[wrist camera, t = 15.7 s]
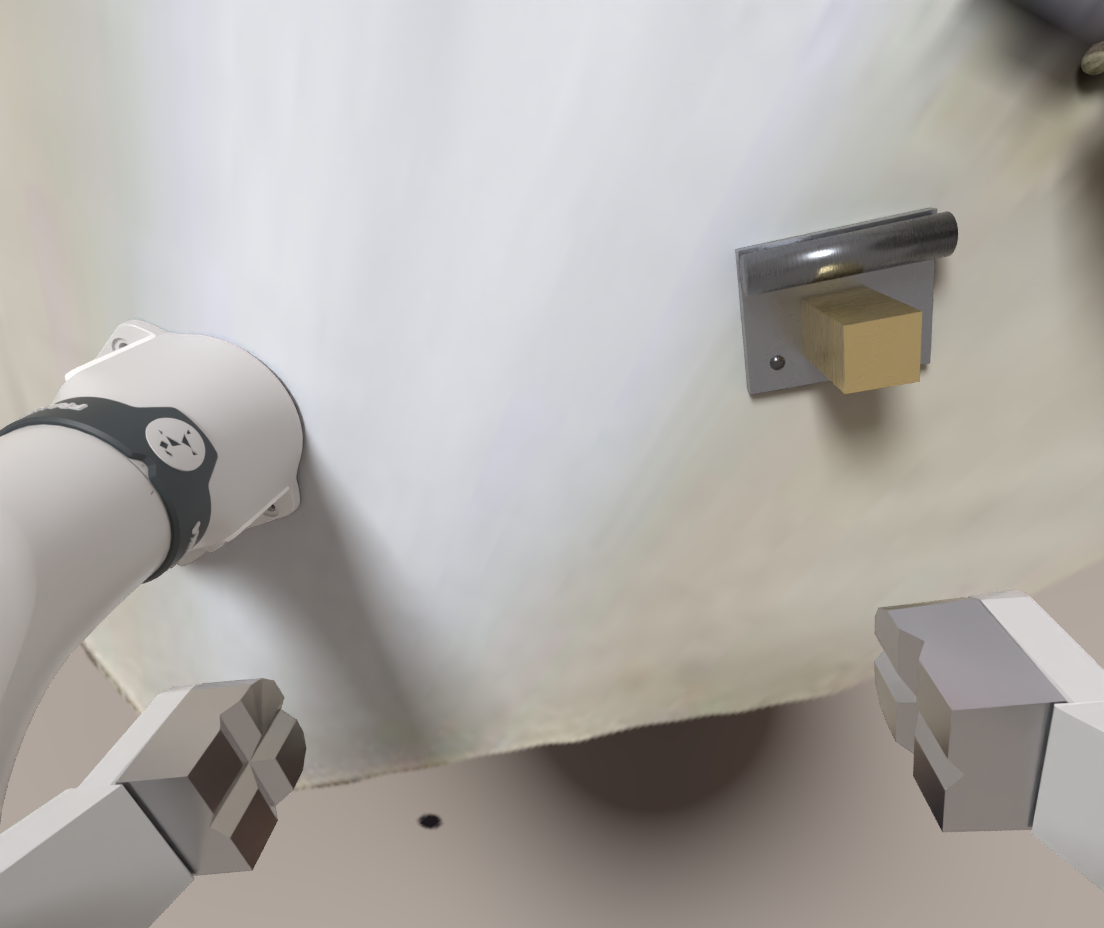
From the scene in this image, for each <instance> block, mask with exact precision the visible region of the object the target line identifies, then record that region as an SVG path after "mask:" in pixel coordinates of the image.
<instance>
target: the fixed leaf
mask: <svg viewBox="0 0 1104 928" xmlns="http://www.w3.org/2000/svg"><path fill="white" fill-rule="evenodd" d="M957 240H958V227H957V223H956V220H955V217H954V216H953V215H952V214H951V213H950V212H942V213H938V214H937V209H936V208H926V209H921V210H917V211H912V212H907V213H903V214H898V215H893V216H889V217H884V218H879V219H875V220H870V221H865V222H861V223H856V224H851V225H847V226H842V227H837V228H833V229H828V230H823V231H819V232H814V233H809V234H805V235H800V236H795V237H790V238H786V239H781V240H776V241H772V242H767V243H762V244H758V245H753V246H748V247H744V248H739V249H735V252H736V264H737V275H738V287H739V298H740V310H741V321H742V333H743V344H744V356H745V367H746V378H747V390H748V392H749V393H750V394H756V393H762V392H768V391H773V390H779V389H785V388H791V387H796V386H802V385H808V384H813V383H819V382H825V381H830V380H829V379H828V378H827V377H826V376H825V375H824V374H823V373H822V372H820V371H819V370H818V369H817V368H816V367H815V366H814V365H813V364H812V363H811V362H810V361H809V360H808V359H807V358H805V357H804V351H803V328H802V306H801V298H806V297H811V296H816V295H821V294H826V293H831V292H836V291H841V290H846V289H851V288H856V287H861V286H866V287H868V288H871V289H873V290H875V291H878V292H880V293H882V294H884V295H887V296H889V297H891V298H893V299H896V300H898V301H900V302H902V303H905V304H907V305H909V306H911V307H914V308H916V309H918V310H920V311H922V332H921V358H920V365H922V364H928V363H930V354H931V332H932V311H933V289H934V267H935V259H937V258H942V257H947V256H950V255H951V254H952V253H953V252H954V250H955V248H956V245H957Z"/></svg>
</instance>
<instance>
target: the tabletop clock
mask: <svg viewBox="0 0 1104 928" xmlns="http://www.w3.org/2000/svg"><path fill="white" fill-rule="evenodd" d="M1081 68H1082V70H1083V71H1084V72H1085V73H1087V74H1089V75H1097V74H1100V73H1103V72H1104V41H1102V42H1099V43H1096V44H1094V45H1093V46H1091V47H1090V48H1089V49H1088V51H1087V52H1086V53H1085V55H1084V56H1083V57H1082V60H1081Z"/></svg>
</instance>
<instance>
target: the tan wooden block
mask: <svg viewBox="0 0 1104 928" xmlns="http://www.w3.org/2000/svg"><path fill="white" fill-rule="evenodd" d="M801 306H802V328H803V351H804V357H805V358H807V359H808V360H809V361H810V362H811V363H812V364H813V365H814V366H815V367H816V368H817V369H818V370H819V371H820V372H822V373H823V374H824V375H825V376H826V377H827V378H828V379H829V380H830V381H831V382H832V383H833V384H834V385H836V386H837V387H838V388H839V389H840V390H841V391H842V392H843V393H844V394H849V393H855V392H861V391H867V390H873V389H879V388H884V387H890V386H896V385H902V384H908V383H914V382H920V358H921V332H922V311H920V310H918V309H916V308H914V307H911V306H909V305H907V304H905V303H902V302H900V301H898V300H896V299H893V298H891V297H889V296H887V295H884V294H882V293H880V292H878V291H875V290H873V289H871V288H868V287H866V286H861V287H856V288H851V289H846V290H841V291H836V292H831V293H826V294H821V295H816V296H811V297H806V298H801Z"/></svg>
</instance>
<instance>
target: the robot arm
mask: <svg viewBox="0 0 1104 928" xmlns="http://www.w3.org/2000/svg"><path fill="white" fill-rule="evenodd" d="M126 344H127V346H126ZM65 379H66V382H65V383H64V384H63V386H62V387H61V388H60V390H59V391H58V393H57V395H56V397H55V399H54V401H53V403H52V405H48V406H46V407H45V406H44V407H41V408H38V409H36V410H34V411H32V412H30V413H27V414H25V415H24V416H22V417H20V418H19V420H17V421H15V422H13V423H11V424H9V425H8V426H6V427H4V428H3V429H2V430H1V431H0V822H1V815H2V808H3V804H4V799H5V795H6V791H7V787H8V782H9V779H10V776H11V773H12V770H13V766H14V763H15V760H16V757H17V754H18V751H19V749H20V746H21V743H22V741H23V739H24V736H25V733H26V731H27V729H28V726H29V724H30V722H31V719H32V717H33V715H34V713H35V711H36V709H37V707H38V705H39V703H40V702H41V700H42V698H43V696H44V694H45V692H46V690H47V688H48V687H49V685H50V683H51V682H52V680H53V679H54V677H55V676H56V674H57V673H58V671H59V670H60V668H61V667H62V665H63V664H64V663H65V662H66V660H67V659H68V658H69V656H70V655H71V654H72V653H73V651H74V650H75V649H76V648H77V647H78V646H79V645H80V644H81V643H82V642H83V641H84V640H85V639H86V638H87V637H88V635H89V634H90V633H91V632H92V631H93V630H94V629H95V628H96V627H97V626H98V625H99V624H100V623H101V622H102V621H103V620H104V619H105V618H106V617H107V616H108V615H109V614H110V613H111V612H112V611H113V610H114V609H115V608H116V607H117V606H118V605H119V604H120V603H121V602H122V601H123V600H124V599H125V598H127V597H128V596H129V595H130V594H131V593H132V592H133V591H134V590H135V589H136V588H137V587H138V586H140V585H141V584H143V583H146V582H149V581H151V580H153V579H155V578H157V577H159V576H160V575H162V574H163V573H164V572H165V571H167V570H168V569H169V568H172V567H174V566H175V565H176V564H178V565H180V566H185V565H187V564H189V563H191V562H193V561H195V560H196V559H198V558H199V557H200V556H202V555H203V554H204V553H205V552H206V550H207V551H208V552H209V553H210V552H213V551H215V550H217V549H219V548H220V547H222V546H223V545H224V544H225V542H229V541H231V540H232V539H234V538H235V537H236V536H238V535H239V534H240V533H241V532H242V531H243V530H245V529H248V528H251V527H254V526H257V525H260V524H264V523H267V522H270V521H273V520H276V519H279V518H282V517H285V516H288V515H290V514H291V513H292V512H294V511H295V510H296V509H297V508H298V507H299V505H300V493H299V488H298V483H297V478H296V477H297V470H298V466H299V462H300V459H301V454H302V447H303V435H302V427H301V423H300V419H299V416H298V413H297V410H296V408H295V405H294V403H293V401H292V399H291V397H290V396H289V394H288V392H287V391H286V389H285V388H284V386H283V385H282V384H281V382H280V381H279V380H278V378H277V377H276V376H275V375H274V374H273V373H272V372H271V371H270V370H269V369H268V368H267V367H266V366H265V365H264V364H263V363H262V362H260V361H259V360H258V359H257V358H255V357H254V356H252V355H251V354H249V353H248V352H246V351H245V350H243V349H241V348H239V347H238V346H235V345H233V344H231V343H229V342H226V341H224V340H221V339H218V338H214V337H210V336H205V335H198V334H178V333H171V332H167V331H165V330H163V329H161V328H158V327H156V326H154V325H152V324H149V323H146V322H143V321H140V320H129V321H127V322H125V323H123V324H121V325H119V326H118V327H117V328H116V330H115V331H114V332H113V334H112V335H111V337H110V338H109V340H108V341H107V343H106V344H105V346H104V347H103V348H102V350H101V351H100V353H99V354H98V356H97V357H96V359H95V360H93V361H91V362H89V363H86V364H84V365H82V366H80V367H77V368H75V369H73V370H72V371H70V372H69V373H67V374H66V375H65ZM272 504H273V505H274V506H275V507H273V506H271V505H272ZM874 634H875V635H876V637H877V639H878V641H879V642H880V644H881V646H882V648H883V649H884V651H883V652H882V653H881V654H880V656H879V657H878V658H877V659H876V660H875V661H874V667H875V685H876V689H877V694H878V699H879V703H880V707H881V709H882V712H883V715H884V717H885V720H886V722H887V725H888V727H889V729H890V731H891V733H892V735H893V737H894V739H895V741H896V742H897V743H899V744H900V745H901V746H903V747H904V748H906V749H907V750H909V751H910V752H912V753H913V754H914V767H913V769H914V770H913V776H914V778H915V780H916V782H917V784H918V786H919V788H920V790H921V792H922V794H923V796H924V798H925V799H926V801H927V803H928V805H929V807H930V809H931V811H932V813H933V815H934V817H935V819H936V820H937V823H938V825H939V826H940V828H941V830H942V832H967V831H999V830H1000V831H1001V830H1032V832H1031V834H1032V835H1033V836H1034V837H1035V838H1037V839H1038V840H1039V841H1040V842H1042V843H1043V844H1044V845H1046V846H1047V847H1048V848H1049V849H1051V850H1052V851H1053V852H1054V853H1056V854H1057V855H1058V856H1059V857H1061V858H1062V859H1063V860H1064V861H1066V862H1067V863H1068V864H1069V865H1071V866H1072V867H1073V868H1074V869H1076V870H1077V871H1078V872H1079V873H1081V874H1082V875H1083V876H1084V877H1086V878H1087V879H1088V880H1089V881H1091V882H1092V883H1093V884H1095V885H1096V886H1097V887H1098V888H1099V889H1101V890H1102V891H1103V892H1104V669H1103V668H1102V667H1101V666H1100V665H1099V664H1098V663H1097V662H1096V661H1095V660H1094V659H1093V658H1092V657H1091V656H1090V655H1089V654H1088V653H1087V652H1086V651H1085V650H1084V649H1083V648H1082V647H1081V646H1079V644H1078V643H1077V642H1076V641H1075V640H1073V638H1071V637H1070V636H1069V635H1068V634H1067V633H1066V632H1065V631H1064V630H1063V629H1062V628H1061V627H1060V626H1059V625H1058V624H1057V623H1056V622H1055V621H1054V620H1053V619H1052V618H1051V617H1050V616H1049V615H1048V614H1047V613H1046V612H1045V611H1044V610H1043V609H1042V608H1041V607H1040V606H1039V605H1038V604H1037V603H1036V602H1035V601H1034V600H1033V599H1032V598H1031V597H1030V596H1029V595H1028V594H1025V593H1023V592H1021V591H1019V590H1011V591H1003V592H995V593H988V594H980V595H973V596H969V597H968V598H965V597H962V598H954V599H946V600H938V601H929V602H921V603H913V604H905V605H897V606H888V607H880V608H878V610H877V612H876V615H875V632H874ZM283 700H284V696H283V694H282V693H281V691H280V689H279V688H278V686H277V685H276V683H275V681H274V680H269V679H263V678H259V679H248V680H236V681H225V682H213V683H203V684H201V685H188V686H175V687H172V688H169V689H167V690H165V691H163V692H161V693H159V694H158V695H157V697H156V698H155V699H154V700H153V701H152V702H151V704H150V705H149V706H148V707H147V708H146V709H145V710H144V712H143V713H142V714H141V715H140V716H139V717H138V719H137V720H136V721H135V722H134V723H133V724H132V725H131V727H130V728H129V729H128V730H127V731H126V732H125V734H124V735H123V736H122V737H121V738H120V740H119V741H118V742H117V743H116V744H115V745H114V746H113V748H112V749H111V750H110V751H109V752H108V753H107V754H106V755H105V757H104V758H103V759H102V760H101V761H100V762H99V764H98V765H97V766H96V767H95V768H94V769H93V771H92V772H91V773H90V774H89V775H88V776H87V777H86V779H85V780H84V781H83V782H82V783H81V784H80V785H79V787H78V788H72V789H67V790H65V791H64V792H62V793H61V794H59V795H58V796H56V797H55V798H53V799H52V800H51V801H49V802H47V803H46V804H45V805H43V806H42V807H40V808H39V809H37V810H36V811H34V812H33V813H31V814H30V815H28V816H27V817H26V818H24V819H23V820H21V821H19V822H18V823H16V824H15V825H13V826H12V827H11V828H9V829H8V830H6V831H5V832H3V833H2V834H0V928H149V927H150V925H151V924H152V923H153V922H154V921H155V920H156V919H157V918H158V917H159V916H160V915H161V914H162V913H163V912H164V911H165V910H166V909H167V908H168V907H169V906H170V904H172V903H173V901H174V900H175V899H176V898H177V897H178V896H179V895H180V894H181V893H182V892H183V891H184V890H185V889H186V888H187V887H188V886H189V885H190V884H191V883H192V882H193V881H194V877H193V876H197V875H207V874H218V873H229V872H240V871H251V870H253V868H254V866H255V864H256V862H257V860H258V859H259V857H260V855H261V852H262V851H263V849H264V847H265V845H266V843H267V841H268V839H269V837H270V835H271V833H272V831H273V829H274V827H275V825H276V823H277V821H278V818H277V811H276V805H277V804H278V803H279V802H280V801H281V800H282V799H284V798H285V797H286V796H287V795H288V794H289V793H290V792H291V791H292V790H294V787H295V785H296V783H297V781H298V779H299V777H300V775H301V773H302V771H303V766H304V759H305V753H306V744H305V739H304V733H303V731H302V729H301V727H300V725H299V723H298V721H297V719H295V718H293V717H292V716H290V715H289V714H287V713H286V712H284V711H283V710H281V707H282V704H283Z"/></svg>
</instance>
